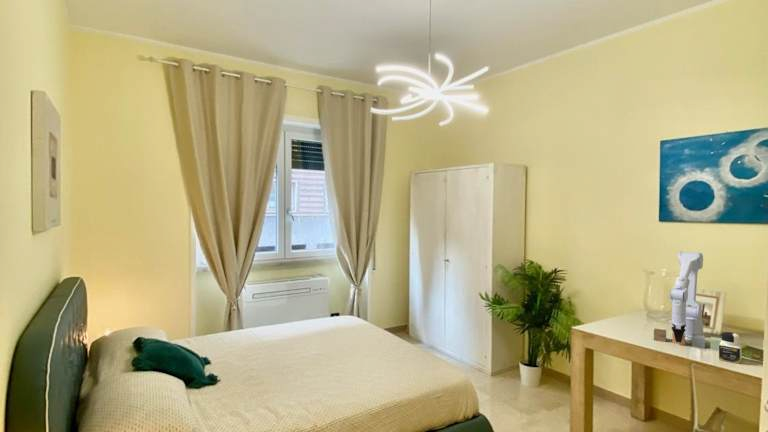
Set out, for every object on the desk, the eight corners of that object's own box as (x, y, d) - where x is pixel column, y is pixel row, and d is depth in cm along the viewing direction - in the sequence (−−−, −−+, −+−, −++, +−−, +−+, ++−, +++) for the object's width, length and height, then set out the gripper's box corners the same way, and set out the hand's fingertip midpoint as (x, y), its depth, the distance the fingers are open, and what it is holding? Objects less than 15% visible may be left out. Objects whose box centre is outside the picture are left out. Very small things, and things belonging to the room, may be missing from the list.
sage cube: (710, 347, 199) (710, 336, 199) (723, 349, 196) (723, 338, 196) (710, 349, 195) (710, 339, 195) (724, 352, 192) (724, 341, 192)
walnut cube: (654, 337, 214) (654, 328, 214) (666, 339, 211) (666, 330, 211) (653, 340, 210) (653, 330, 210) (665, 342, 207) (665, 332, 207)
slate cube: (692, 343, 204) (692, 333, 204) (704, 345, 201) (704, 335, 201) (691, 346, 200) (691, 336, 200) (704, 348, 197) (704, 338, 197)
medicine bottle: (718, 360, 182) (718, 333, 182) (720, 355, 188) (721, 329, 187) (739, 364, 177) (740, 336, 177) (741, 359, 182) (741, 333, 182)
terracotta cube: (672, 340, 209) (672, 331, 209) (685, 342, 206) (685, 332, 206) (672, 343, 205) (672, 333, 205) (684, 345, 202) (684, 335, 202)
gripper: (669, 308, 214) (669, 334, 214) (668, 314, 202) (668, 342, 202) (686, 310, 209) (686, 337, 210) (686, 317, 198) (686, 345, 198)
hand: (678, 339), depth 206 cm, fingers open, 7 cm apart
